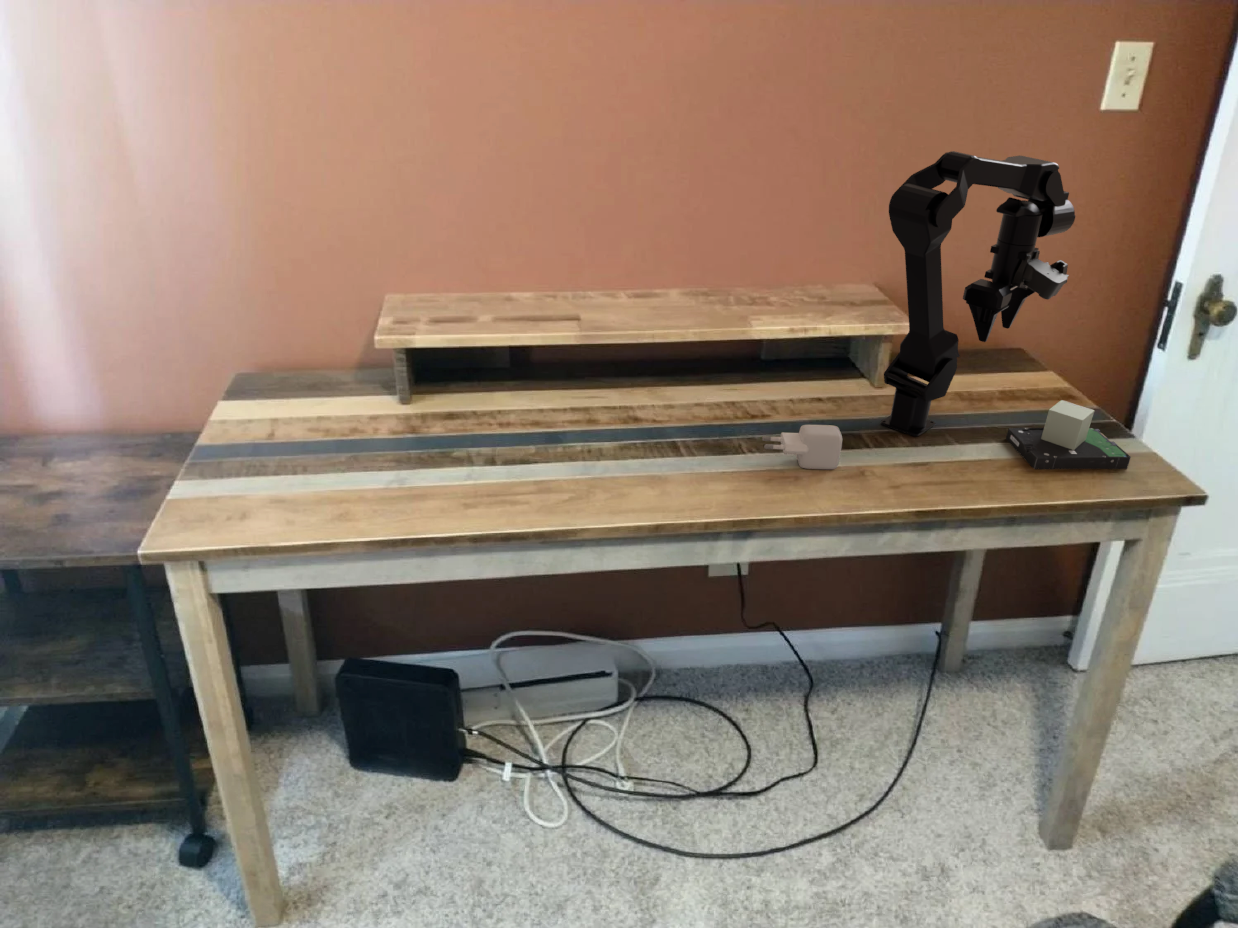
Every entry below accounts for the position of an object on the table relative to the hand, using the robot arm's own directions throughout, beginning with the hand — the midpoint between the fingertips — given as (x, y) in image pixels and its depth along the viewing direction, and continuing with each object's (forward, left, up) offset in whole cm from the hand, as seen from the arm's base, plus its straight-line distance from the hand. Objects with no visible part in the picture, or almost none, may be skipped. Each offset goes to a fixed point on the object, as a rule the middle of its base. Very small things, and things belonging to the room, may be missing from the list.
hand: (994, 334), depth 160 cm
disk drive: (-9, -18, -13) cm, 24 cm away
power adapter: (-42, +9, -12) cm, 45 cm away
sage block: (-9, -17, -10) cm, 22 cm away
